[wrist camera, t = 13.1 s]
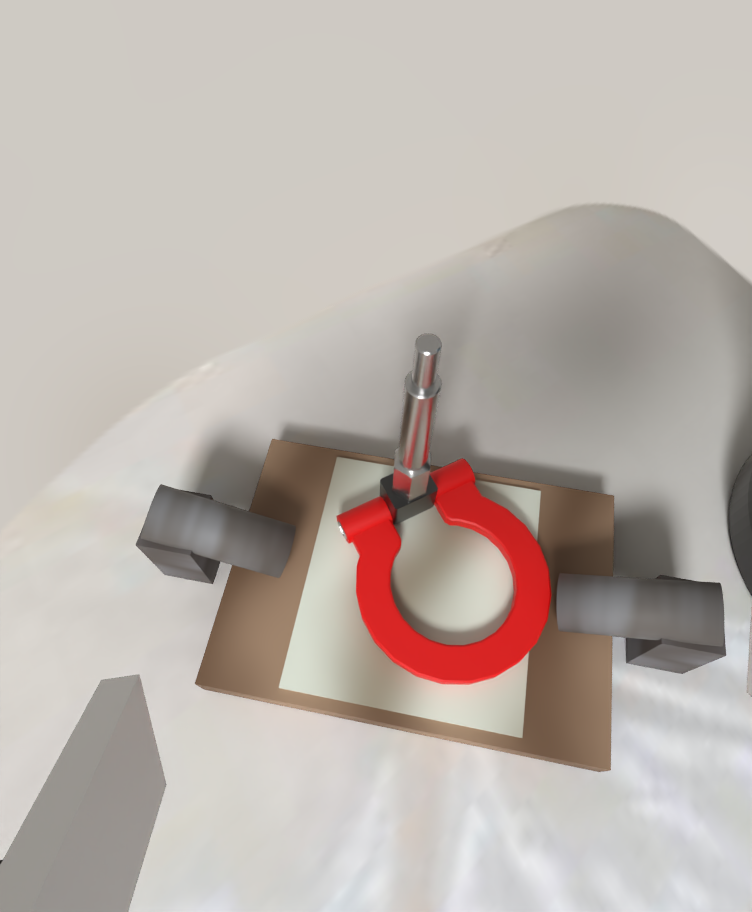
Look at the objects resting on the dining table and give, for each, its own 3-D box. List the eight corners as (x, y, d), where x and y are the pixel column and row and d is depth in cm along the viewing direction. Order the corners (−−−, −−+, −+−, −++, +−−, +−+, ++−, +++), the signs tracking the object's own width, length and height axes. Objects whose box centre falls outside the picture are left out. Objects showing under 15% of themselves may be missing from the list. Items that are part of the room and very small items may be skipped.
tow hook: (582, 630, 27) (474, 457, 31) (739, 532, 16) (536, 274, 19) (411, 723, 25) (318, 529, 29) (444, 692, 14) (282, 376, 17)
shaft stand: (677, 520, 31) (734, 467, 26) (687, 790, 25) (762, 788, 20) (212, 442, 33) (182, 380, 28) (127, 673, 28) (71, 646, 23)
